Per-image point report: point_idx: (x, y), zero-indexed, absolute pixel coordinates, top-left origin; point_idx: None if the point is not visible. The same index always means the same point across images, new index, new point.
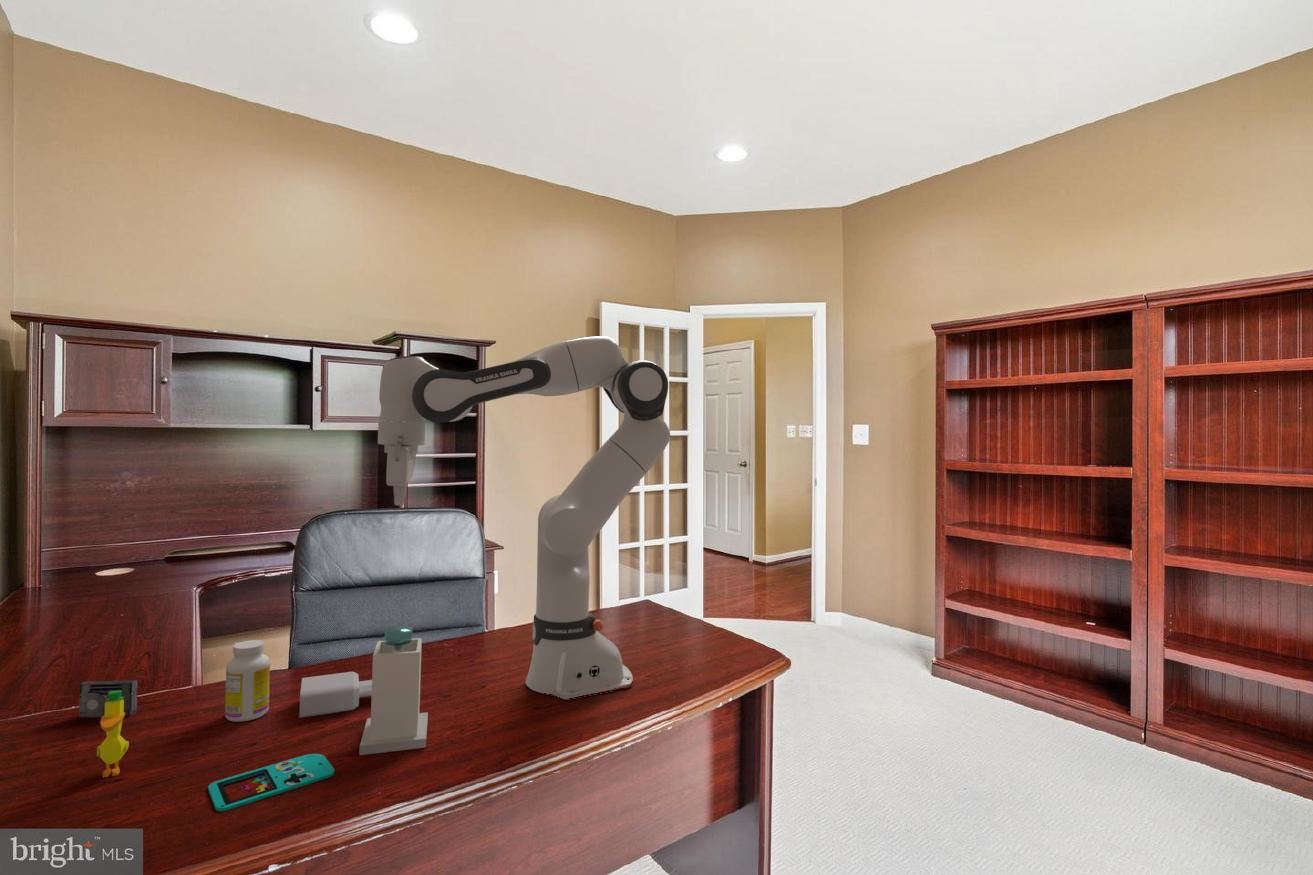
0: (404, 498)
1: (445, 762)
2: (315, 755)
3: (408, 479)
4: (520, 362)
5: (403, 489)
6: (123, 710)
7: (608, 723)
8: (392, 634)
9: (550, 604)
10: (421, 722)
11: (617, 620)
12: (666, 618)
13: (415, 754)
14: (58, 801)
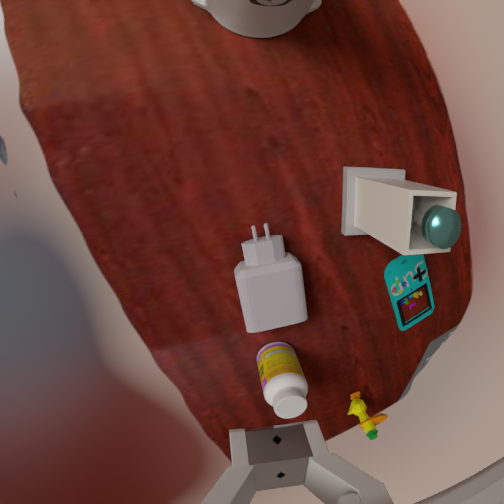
0: (271, 447)
1: (427, 152)
2: (389, 269)
3: (494, 485)
4: None
5: (377, 482)
6: (368, 422)
7: None
8: (458, 235)
9: None
10: (370, 174)
11: None
12: None
13: (409, 178)
14: (379, 400)
